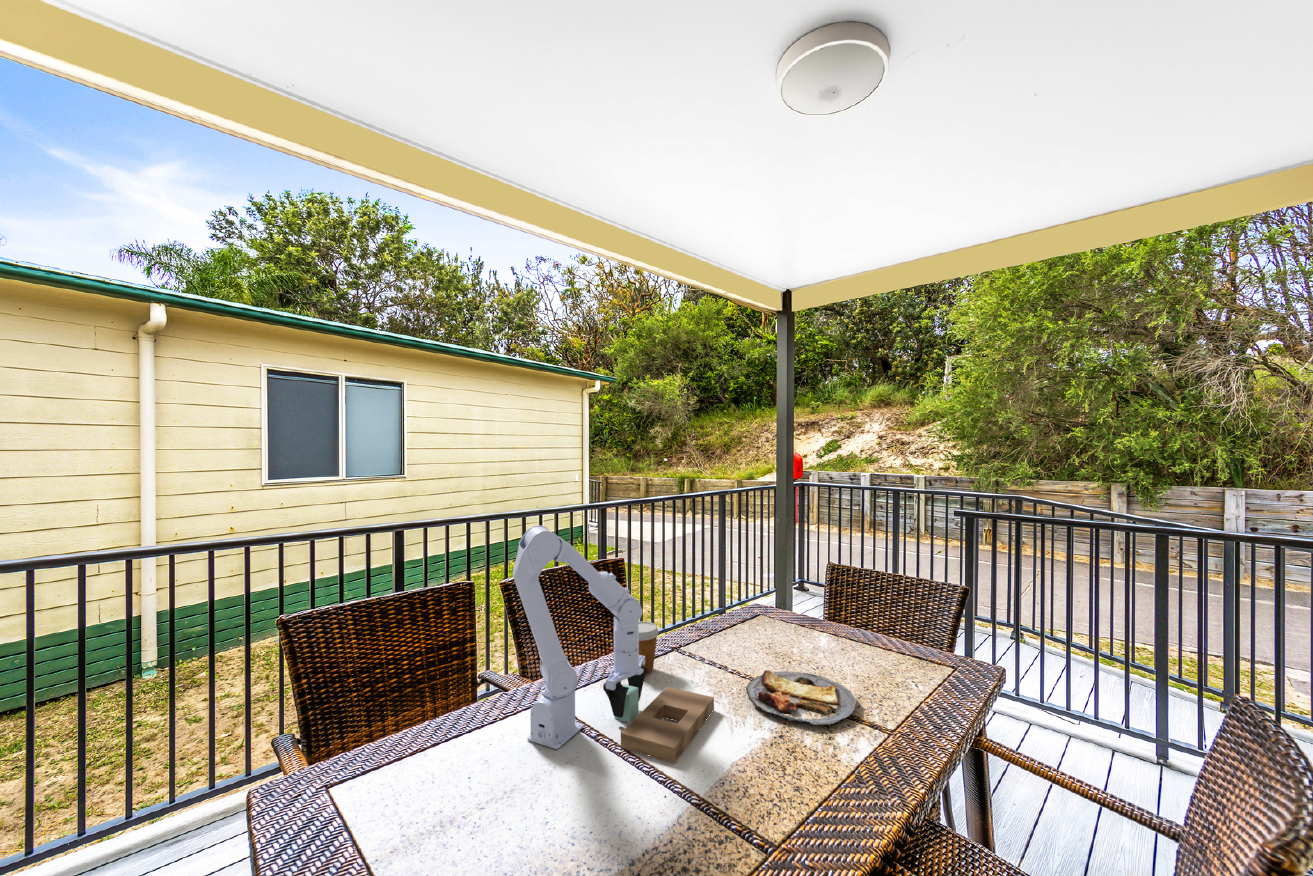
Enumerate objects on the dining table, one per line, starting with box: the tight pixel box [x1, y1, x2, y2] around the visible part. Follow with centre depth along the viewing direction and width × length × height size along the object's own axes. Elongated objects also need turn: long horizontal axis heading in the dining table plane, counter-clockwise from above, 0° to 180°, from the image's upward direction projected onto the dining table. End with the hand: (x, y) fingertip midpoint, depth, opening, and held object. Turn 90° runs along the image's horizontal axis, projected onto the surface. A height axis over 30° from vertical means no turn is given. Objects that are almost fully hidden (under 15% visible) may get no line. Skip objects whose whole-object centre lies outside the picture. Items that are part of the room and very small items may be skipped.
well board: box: [620, 686, 715, 765], centre depth 109 cm, size 22×12×3 cm, turn 153°
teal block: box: [614, 683, 640, 724], centre depth 114 cm, size 4×4×6 cm
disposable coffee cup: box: [638, 621, 659, 675], centre depth 137 cm, size 10×10×12 cm
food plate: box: [745, 669, 858, 726], centre depth 120 cm, size 25×23×4 cm
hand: (626, 708), depth 114 cm, fingers open, 7 cm apart
